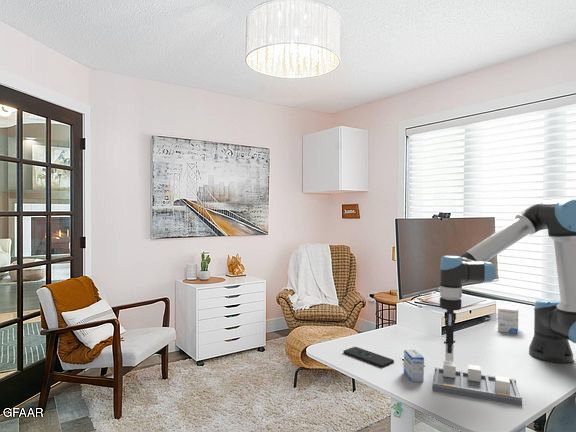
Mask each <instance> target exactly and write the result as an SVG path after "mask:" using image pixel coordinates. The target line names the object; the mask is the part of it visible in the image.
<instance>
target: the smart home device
mask: <svg viewBox="0 0 576 432" xmlns="http://www.w3.org/2000/svg"><path fill="white" fill-rule="evenodd" d="M343 354H344V355H346V356H349V357H352V358H354V359H356V360H360V361H362V362H366V363H368V364H370V365H372V366H375V367H378V368H382V369H383V368H386V367H388V366H391V365H393V364H394V363H395V360H394V359H392V358H390V357H387V356H384V355H381V354H378V353H375V352H372V351H369V350H367V349H364V348H361V347H359V346H353V347H349V348H347V349H345V350H343ZM390 364H391V365H390Z"/></svg>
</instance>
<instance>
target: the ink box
mask: <svg viewBox="0 0 576 432" xmlns="http://www.w3.org/2000/svg"><path fill="white" fill-rule="evenodd" d="M497 331H498V332H500V333H507V334H515V335H519V334H518V333H519V307H518V306H513V305H512V306H511V305H504V304H499V305H498V307H497Z"/></svg>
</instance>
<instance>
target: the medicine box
mask: <svg viewBox="0 0 576 432" xmlns="http://www.w3.org/2000/svg"><path fill="white" fill-rule="evenodd" d="M403 358H404V361H403V373H404V374H405V375H406V377H408V378H409V380H410V381H411V382H424V381H425V379H424V378H425V377H424V375H425V374H424V373H425V372H424V371H425V370H424V369H425V367H424V366H425V357H424V356H423V355H421V353H419V352H418V351H417V350H416V349H404V351H403Z"/></svg>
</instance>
